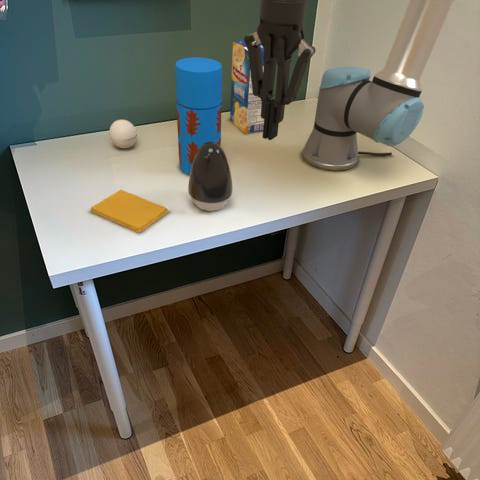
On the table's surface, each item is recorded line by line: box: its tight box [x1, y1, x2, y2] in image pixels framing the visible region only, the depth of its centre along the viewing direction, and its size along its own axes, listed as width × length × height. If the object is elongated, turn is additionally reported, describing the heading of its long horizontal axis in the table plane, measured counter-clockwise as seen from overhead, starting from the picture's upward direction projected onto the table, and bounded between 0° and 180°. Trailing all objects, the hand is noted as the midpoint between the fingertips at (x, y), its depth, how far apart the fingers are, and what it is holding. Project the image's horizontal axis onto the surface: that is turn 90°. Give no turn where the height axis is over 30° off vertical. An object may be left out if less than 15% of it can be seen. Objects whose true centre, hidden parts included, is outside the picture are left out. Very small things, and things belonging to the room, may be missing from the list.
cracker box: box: [229, 39, 264, 135], centre depth 137 cm, size 7×11×22 cm, turn 26°
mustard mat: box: [90, 189, 169, 234], centre depth 107 cm, size 14×10×1 cm
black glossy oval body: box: [187, 142, 233, 212], centre depth 106 cm, size 10×10×15 cm
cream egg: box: [108, 119, 138, 149], centre depth 128 cm, size 10×7×7 cm
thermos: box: [174, 56, 223, 177], centre depth 115 cm, size 11×11×25 cm
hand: (270, 136), depth 92 cm, fingers closed
